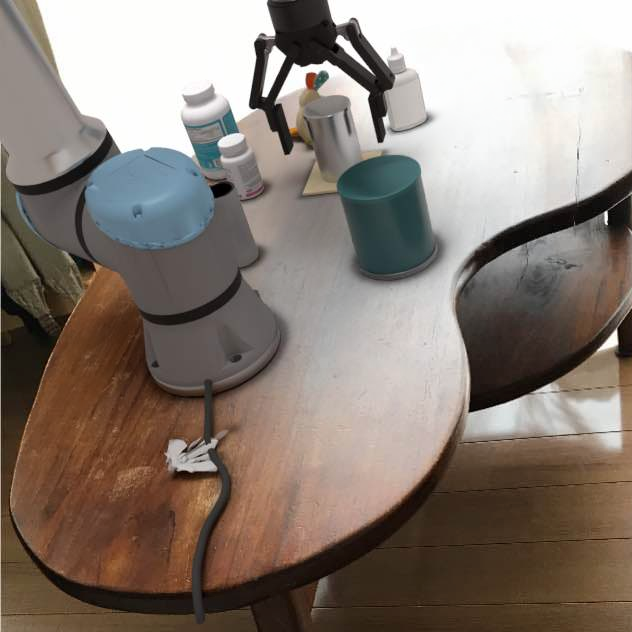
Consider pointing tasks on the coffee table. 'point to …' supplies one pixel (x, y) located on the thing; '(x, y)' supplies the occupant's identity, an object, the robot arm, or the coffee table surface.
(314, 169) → the mat
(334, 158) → the cup
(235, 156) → the pill bottle
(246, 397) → the coffee table surface
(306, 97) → the rattle
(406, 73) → the eye dropper bottle
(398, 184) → the teal tin can
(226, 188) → the grey hollow tube
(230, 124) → the pill bottle
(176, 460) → the flower
